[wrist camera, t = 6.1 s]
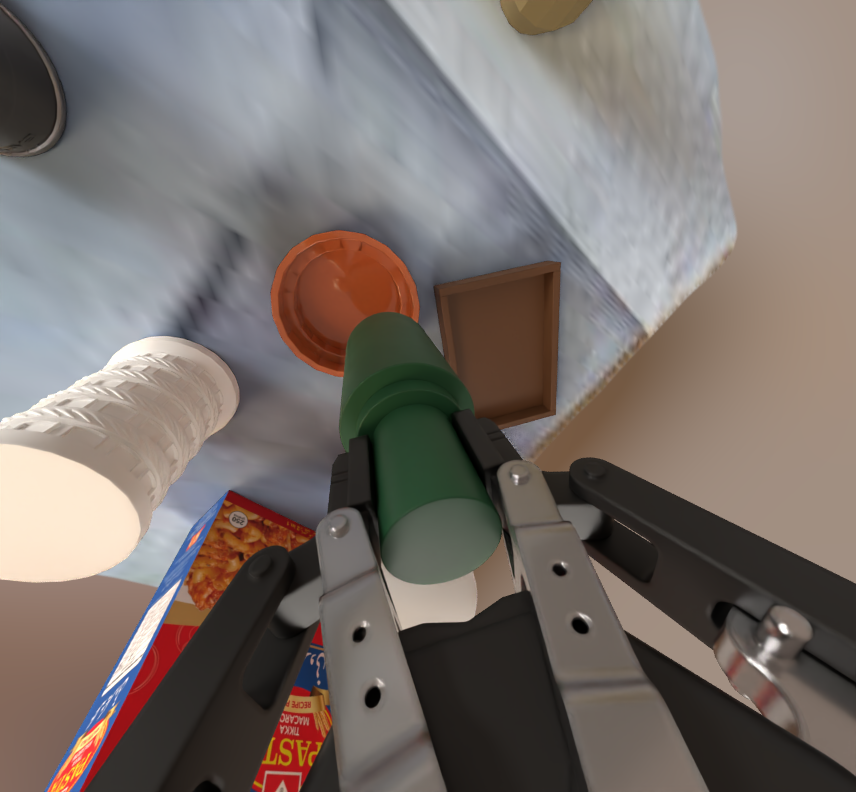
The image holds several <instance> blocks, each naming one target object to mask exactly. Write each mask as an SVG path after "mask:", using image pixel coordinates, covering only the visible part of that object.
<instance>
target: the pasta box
mask: <svg viewBox="0 0 856 792" xmlns="http://www.w3.org/2000/svg"><path fill="white" fill-rule="evenodd" d="M315 535H316V532H315V531H313V530H311V529H309V528H307V527H305V526H303V525H301V524H299V523H297V522H295V521H293V520H291V519H288V518H286V517H284V516H282V515H280V514H278V513H276V512H274V511H272V510H270V509H268V508H266V507H264V506H261V505H259V504H257V503H255V502H253V501H251V500H249V499H247V498H245V497H243V496H241V495H239V494H237V493H234V492H232V491H230V490H229V491H228V492H227V493H226V494H225V495H224V496H223V497H222V498H221V499H220V500H219V501H218V502H217V503H216V504H215V505H214V506H213V507H212V508H211V509H210V510H209V511H208V512H207V513H206V514H205V515H204V516H203V517H202V518H201V519H200V520H199V521H198V522H197V523H196V524H195V525H194V526H193V527H192V529H191V530H190V532H189V534H188V536H187V538H186V539H185V541H184V543H183V545H182V547H181V548H180V550H179V552H178V554H177V555H176V557H175V559H174V561H173V563H172V564H171V566H170V568H169V570H168V572H167V573H166V575H165V577H164V579H163V580H162V582H161V584H160V586H159V588H158V589H157V591H156V593H155V595H154V597H153V598H152V600H151V602H150V604H149V605H148V607H147V609H146V611H145V613H144V614H143V616H142V618H141V620H140V622H139V624H138V625H137V627H136V629H135V630H134V632H133V634H132V636H131V638H130V639H129V641H128V643H127V645H126V647H125V648H124V650H123V652H122V654H121V655H120V657H119V659H118V661H117V663H116V664H115V666H114V668H113V670H112V672H111V674H110V675H109V677H108V679H107V681H106V682H105V684H104V686H103V688H102V689H101V691H100V693H99V695H98V697H97V698H96V700H95V702H94V704H93V705H92V707H91V709H90V711H89V713H88V714H87V716H86V718H85V720H84V722H83V723H82V725H81V727H80V729H79V730H78V732H77V734H76V736H75V738H74V740H73V741H72V743H71V745H70V747H69V748H68V750H67V752H66V754H65V755H64V757H63V759H62V761H61V763H60V764H59V766H58V768H57V770H56V772H55V773H54V775H53V777H52V779H51V781H50V782H49V784H48V786H47V788H46V789H45V791H44V792H84V791H85V789H86V788H87V786H88V785H89V784H90V782H91V781H92V779H93V778H94V776H95V775H96V774H97V772H98V771H99V769H100V768H101V766H102V765H103V764H104V762H105V761H106V759H107V758H108V756H109V755H110V754H111V752H112V751H113V749H114V748H115V746H116V745H117V744H118V742H119V741H120V739H121V738H122V736H123V735H124V734H125V732H126V731H127V729H128V728H129V726H130V725H131V724H132V722H133V721H134V719H135V718H136V716H137V715H138V714H139V712H140V711H141V709H142V708H143V706H144V705H145V704H146V702H147V701H148V699H149V698H150V696H151V695H152V694H153V692H154V691H155V689H156V688H157V686H158V685H159V684H160V682H161V681H162V679H163V678H164V676H165V675H166V674H167V672H168V671H169V669H170V668H171V666H172V665H173V664H174V662H175V661H176V659H177V658H178V656H179V655H180V654H181V652H182V651H183V649H184V648H185V646H186V645H187V644H188V642H189V641H190V639H191V638H192V636H193V635H194V634H195V632H196V631H197V629H198V628H199V626H200V625H201V624H202V622H203V621H204V619H205V618H206V616H207V615H208V614H209V612H210V611H211V609H212V608H213V606H214V605H215V604H216V602H217V601H218V599H219V598H220V596H221V595H222V594H223V592H224V591H225V589H226V588H227V586H228V585H229V584H230V582H231V581H232V579H233V578H234V576H235V575H236V574H237V572H238V571H239V569H240V568H241V567H242V565H243V564H244V563H245V562H246V561H247V560H248V559H249V558H250V557H251V556H252V555H253V554H255V553H256V552H258V551H259V550H261V549H263V548H266V547H269V546H273V545H279V546H282V547H284V548H286V550H287V551H288V552H289V551H291V550H293V549H295V548H296V547H298V546H300V545H302V544H303V543H305V542H307V541H308V540H310V539H311V538H313V537H314V536H315ZM331 725H332V717H331V708H330V700H329V691H328V683H327V674H326V666H325V657H324V649H323V640H322V632H321V623H319V626H318V628H317V631H316V633H315V635H314V638H313V640H312V643H311V645H310V648H309V650H308V652H307V655H306V657H305V660H304V662H303V665H302V667H301V669H300V672H299V674H298V677H297V679H296V681H295V684H294V686H293V689H292V691H291V694H290V696H289V698H288V701H287V703H286V706H285V708H284V711H283V713H282V715H281V718H280V720H279V723H278V725H277V728H276V730H275V732H274V735H273V737H272V740H271V742H270V744H269V747H268V749H267V752H266V754H265V757H264V759H263V761H262V764H261V766H260V769H259V771H258V774H257V776H256V778H255V781H254V783H253V786H252V788H251V791H250V792H299V791H300V789H301V787H302V785H303V783H304V781H305V778H306V776H307V774H308V772H309V770H310V768H311V766H312V764H313V762H314V760H315V758H316V756H317V754H318V752H319V750H320V748H321V746H322V744H323V742H324V740H325V738H326V735H327V733H328V731H329V729H330V727H331Z"/></svg>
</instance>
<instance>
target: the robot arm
mask: <svg viewBox="0 0 856 792" xmlns="http://www.w3.org/2000/svg"><path fill="white" fill-rule="evenodd" d="M65 122H66V103H65V97H64V93H63V89H62V86H61V83H60V80H59V78H58V75H57V73H56V71H55V69H54V67H53V65H52V63H51V61H50V59H49V58H48V56H47V54H46V53H45V51H44V50H43V48H42V47H41V45H40V44H39V42H38V41H37V40H36V39H35V37H34V36H33V35H32V33H31V32H30V31H29V30H28V29H27V28H26V26H25V25H24V24H23V23H22V22H21V21H20V20H19V19H18V18H17V17H16V16H15V15H14V14H13V13H12V12H10V11H9V10H8V9H7V8H6V7H5V6H3V5H2V4H1V3H0V154H1V155H6V156H12V157H29V156H35V155H38V154H41V153H44V152H45V151H47V150H49V149H50V148H52V147H53V146H54V145H55V144H56V143H57V142H58V140H59V139H60V137H61V135H62V133H63V130H64V127H65ZM452 422H453V427H454V429H455V431H456V433H457V435H458V436H459V438H460V440H461V442H462V444H463V446H464V448H465V450H466V452H467V454H468V456H469V458H470V460H471V462H472V463H473V465H474V467H475V469H476V471H477V473H478V475H479V477H480V479H481V481H482V483H483V485H484V487H485V488H486V490H487V492H488V494H489V496H490V498H491V500H492V502H493V504H494V506H495V508H496V510H497V512H498V514H499V516H500V518H501V522H502V536H503V540H504V545H505V549H506V553H507V558H508V562H509V566H510V571H511V575H512V580H513V584H514V589H515V594H512V595H509V596H506V597H502V598H501V599H499V600H498V601H496V602H495V603H494V604H492V605H491V606H489V607H488V608H487V609H485V610H483V611H482V612H481V613H479V614H478V615H476V616H475V617H473V618H472V619H470V620H469V621H466V622H441V623H422V624H419V625H416V626H413V627H410V628H407V629H404V630H403V629H402V626H401V624H400V621H399V618H398V615H397V612H396V609H395V606H394V603H393V600H392V597H391V594H390V591H389V588H388V585H387V582H386V579H385V576H384V573H383V570H382V567H381V556H380V543H379V530H378V517H377V504H376V491H375V478H374V465H373V452H372V444H371V441H370V438H369V436H368V434H367V435H363V436H359V437H355V438H352V439H349V452H348V453H344V454H340V455H338V457H337V458H336V460H335V462H334V463H333V465H332V477H331V485H330V494H329V504H328V513H327V515H326V516H325V517H324V518H323V519H322V520H321V522H320V523H319V525H318V527H317V529H316V535H315V536H314V537H313V538H311V539H310V540H308V541H307V542H305V543H303V544H302V545H300V546H298V547H296V548H295V549H293V550H291V551H289V552H288V551H287V550H286V548H284V547H282V546H279V545H273V546H269V547H266V548H263V549H261V550H259V551H258V552H256V553H255V554H253V555H252V556H251V557H250V558H249V559H248V560H247V561H246V562H245V563H244V564H243V565H242V567H241V568H240V569H239V571H238V572H237V574H236V575H235V576H234V578H233V579H232V581H231V582H230V584H229V585H228V586H227V588H226V589H225V591H224V592H223V594H222V595H221V596H220V598H219V599H218V601H217V602H216V604H215V605H214V606H213V608H212V609H211V611H210V612H209V614H208V615H207V616H206V618H205V619H204V621H203V622H202V624H201V625H200V626H199V628H198V629H197V631H196V632H195V634H194V635H193V636H192V638H191V639H190V641H189V642H188V644H187V645H186V646H185V648H184V649H183V651H182V652H181V654H180V655H179V656H178V658H177V659H176V661H175V662H174V664H173V665H172V666H171V668H170V669H169V671H168V672H167V674H166V675H165V676H164V678H163V679H162V681H161V682H160V684H159V685H158V686H157V688H156V689H155V691H154V692H153V694H152V695H151V696H150V698H149V699H148V701H147V702H146V704H145V705H144V706H143V708H142V709H141V711H140V712H139V714H138V715H137V716H136V718H135V719H134V721H133V722H132V724H131V725H130V726H129V728H128V729H127V731H126V732H125V734H124V735H123V736H122V738H121V739H120V741H119V742H118V744H117V745H116V746H115V748H114V749H113V751H112V752H111V754H110V755H109V756H108V758H107V759H106V761H105V762H104V764H103V765H102V766H101V768H100V769H99V771H98V772H97V774H96V775H95V776H94V778H93V779H92V781H91V782H90V784H89V785H88V786H87V788H86V789H85V791H84V792H250V791H251V788H252V786H253V783H254V781H255V778H256V776H257V774H258V771H259V769H260V766H261V764H262V761H263V759H264V757H265V754H266V752H267V749H268V747H269V744H270V742H271V740H272V737H273V735H274V732H275V730H276V728H277V725H278V723H279V720H280V718H281V715H282V713H283V711H284V708H285V706H286V703H287V701H288V698H289V696H290V694H291V691H292V689H293V686H294V684H295V681H296V679H297V677H298V674H299V672H300V669H301V667H302V665H303V662H304V660H305V657H306V655H307V652H308V650H309V648H310V645H311V643H312V640H313V638H314V635H315V633H316V631H317V628H318V626H319V623H321V632H322V640H323V649H324V657H325V666H326V674H327V683H328V691H329V700H330V708H331V717H332V725H331V727H330V729H329V731H328V733H327V735H326V738H325V740H324V742H323V744H322V746H321V748H320V750H319V752H318V754H317V756H316V758H315V760H314V762H313V764H312V766H311V768H310V770H309V772H308V774H307V776H306V778H305V781H304V783H303V785H302V787H301V789H300V791H299V792H856V584H855V583H853V582H851V581H849V580H847V579H845V578H843V577H841V576H839V575H837V574H835V573H833V572H831V571H829V570H827V569H825V568H823V567H820V566H819V565H817V564H815V563H813V562H811V561H809V560H807V559H804V558H802V557H800V556H798V555H796V554H794V553H792V552H790V551H788V550H786V549H784V548H782V547H780V546H778V545H776V544H774V543H772V542H770V541H768V540H766V539H764V538H762V537H760V536H757V535H756V534H754V533H751V532H750V531H748V530H745V529H743V528H741V527H739V526H737V525H735V524H733V523H731V522H729V521H727V520H725V519H723V518H721V517H719V516H717V515H715V514H713V513H711V512H709V511H707V510H705V509H703V508H701V507H699V506H697V505H695V504H693V503H690V502H688V501H687V500H684V499H682V498H680V497H678V496H676V495H674V494H672V493H670V492H668V491H666V490H664V489H662V488H660V487H658V486H656V485H654V484H652V483H650V482H648V481H646V480H644V479H642V478H640V477H637V476H636V475H634V474H631V473H630V472H628V471H625V470H623V469H621V468H619V467H617V466H615V465H613V464H611V463H609V462H607V461H605V460H601V459H597V458H581V459H578V460H576V461H574V462H573V463H572V464H571V466H570V471H569V472H545V471H541V470H540V469H539V467H538V466H536V465H535V464H533V463H531V462H529V461H525V460H523V459H522V458H521V457H520V455H519V454H518V453H517V451H516V450H515V449H514V447H513V446H512V445H511V443H510V442H509V441H508V439H507V438H505V435H504V434H503V433H502V431H500V429H499V427H498V426H497V425H496V423H495V422H493V421H491V420H490V419H488V418H486V417H483V418H479V419H476V417H475V416H474V414H473V413H472V411H471V410H470V409H465V410H461V411H457V412H453V413H452ZM614 519H616V520H617V521H619V522H620V523H622V524H624V525H625V526H627V527H628V528H630V529H631V530H633V531H635V532H636V533H638V534H639V535H641V536H643V537H644V538H646V539H647V540H649V541H650V542H651V543H650V542H648V541H647V540H645V539H644V538H642V537H640V536H639V535H637V534H636V533H634V532H632V531H631V530H629V529H628V528H626V527H625V526H623V525H621V524H620V523H618V522H617V521H615V520H614ZM588 555H589V556H590V557H592V558H593V559H594V560H596V561H597V562H598V563H600V564H601V565H602V566H604V567H605V568H606V569H607V570H609V571H610V572H611V573H613V574H614V575H615V576H617V577H618V578H619V579H621V580H622V581H623V582H625V583H626V584H627V585H628V586H630V587H631V588H632V589H634V590H635V591H636V592H638V593H639V594H640V595H642V596H643V597H644V598H645V599H647V600H648V601H649V602H651V603H652V604H653V605H655V606H656V607H657V608H659V609H660V610H661V611H662V612H664V613H665V614H666V615H668V616H669V617H670V618H672V619H673V620H674V621H676V622H677V623H678V624H679V625H681V626H682V627H683V628H685V629H686V630H687V631H689V632H690V633H691V634H693V635H694V636H695V637H697V638H698V639H699V640H700V641H702V642H703V643H704V644H706V645H707V646H708V647H710V648H711V649H712V650H714V654H715V657H716V659H717V662H718V664H719V666H720V667H721V669H722V670H723V672H724V673H725V674H726V676H727V677H728V680H729V682H730V683H731V685H732V687H733V688H734V689H735V690H736V691H737V692H738V693H739V694H741V695H742V696H744V697H745V698H747V699H750V700H751V701H752V702H753V703H754V704H755V706H756V707H757V708H758V710H759V711H760V712H761V714H762V715H763V716H762V715H761V714H759V713H758V712H756V711H754V710H753V709H751V708H750V707H748V706H746V705H745V704H743V703H741V702H740V701H738V700H737V699H735V698H733V697H732V696H730V695H728V694H727V693H725V692H723V691H722V690H720V689H719V688H717V687H716V686H714V685H712V684H711V683H709V682H707V681H706V680H704V679H702V678H701V677H699V676H698V675H696V674H694V673H693V672H691V671H690V670H688V669H686V668H685V667H683V666H682V665H680V664H678V663H677V662H675V661H673V660H672V659H670V658H668V657H667V656H665V655H664V654H662V653H660V652H659V651H657V650H656V649H654V648H652V647H651V646H649V645H648V644H646V643H644V642H643V641H641V640H639V639H638V638H636V637H635V636H633V635H631V634H630V633H628V632H626V631H625V630H623V628H622V626H621V624H620V621H619V619H618V617H617V615H616V613H615V611H614V609H613V607H612V605H611V602H610V600H609V598H608V596H607V594H606V592H605V590H604V588H603V586H602V583H601V582H600V579H599V577H598V575H597V573H596V571H595V569H594V567H593V565H592V563H591V560H590V558H589V556H588Z"/></svg>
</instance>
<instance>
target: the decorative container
mask: <svg viewBox="0 0 856 792" xmlns="http://www.w3.org/2000/svg"><path fill="white" fill-rule="evenodd" d="M238 404H239V387H238V384H237V381H236V378H235V376H234V374H233V373H232V371H231V370H230V368H229V367H228V365H227V364H226V363H225V362H224V361H223V360H222V359H221V358H219V357H218V356H217V355H216V354H215V353H213V352H212V351H210V350H208V349H207V348H205V347H204V346H202V345H200V344H197V343H194V342H192V341H189V340H186V339H182V338H176V337H170V336H158V337H148V338H145V339H142V340H139V341H135V342H133V343H131V344H129V345H127V346H125V347H124V348H122V349H121V350H119V351H118V352H117V353H115V354H114V355H113V356H112V358H111V359H110V361H109V362H108V364H107V366H105V367H104V369H103V370H100V371H99V372H98V373H94V374H92V375H90V376H87V377H83V378H82V380H78V381H76V382H75V384H74V385H72V386H70V387H69V389H67V390H62V391H59V392H58V393H56V394H51V395H49V396H48V397H47V398H45V399H41V400H40V402H39V403H38V404H35V405H33V406H32V408H31V409H30V410H28V411H25V412H22V413H17V414H15V415H14V416H12V417H10V418H4V419H3V420H2V422H0V579H3V580H15V581H25V582H60V581H68V580H74V579H79V578H85V577H89V576H92V575H95V574H97V573H100V572H103V571H106V570H109V569H111V568H112V567H114V566H115V565H117V564H118V563H120V562H121V561H123V560H124V559H126V558H127V557H128V556H129V554H130V553H131V552H132V551H133V550H134V548H135V547H136V546H137V545H138V543H139V542H140V540H141V539H142V538H143V536H144V535H145V533H146V532H147V530H148V529H149V525H150V522H151V518H152V512H153V511H154V510H155V509H156V508H157V507H158V506H159V505H160V504H161V502H162V501H163V499H164V497H165V496H166V493H167V491H168V487H169V486H170V485H172V484H173V483H174V482H175V481H177V479H178V478H179V477H180V476H181V475H182V473H183V472H184V470H185V469H186V466H187V463H188V461H190V460H191V459H192V458H193V457H194V456H195V455H196V454H197V453H198V452H199V450H200V448H201V447H202V445H203V442H204V441H205V440H206V439H207V438H208V437H209V436H210V435H212V434H214V433H216V432H217V431H219V430H220V429H222V428H223V427H225V425H226V424H227V423H228V422H229V420H230V419H231V418H232V417H233V415H234V414H235V412H236V409H237V407H238Z"/></svg>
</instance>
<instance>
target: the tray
mask: <svg viewBox="0 0 856 792" xmlns="http://www.w3.org/2000/svg"><path fill="white" fill-rule="evenodd" d="M560 267H561V263H560V262H553V261H544V262H540V263H535V264H531V265H526V266H521V267H517V268H512V269H508V270H503V271H499V272H494V273H489V274H485V275H480V276H476V277H471V278H466V279H462V280H457V281H453V282H448V283H444V284H439V285H434V286H433V287H434V293H435V299H436V306H437V312H438V319H439V325H440V331H441V338H442V344H443V351H444V357H445V360H446V361H447V362H448V364H449V365H450V367H451V368H452V369H453V371H454V372H455V373H456V375H457V376H458V377H459V379H460V380H461V381H462V383H463V384H464V385H465V387H466V388H467V390H468V392H469V393H470V395H471V398H472V401H473V405H474V410H475V417H476V419H479V418H483V417H486V418H488V419H490V420H491V421H493V422H495V423H496V425H497V426H498V427H499V429H500V430H501V429H505V428H509V427H512V426H516V425H520V424H523V423H527V422H531V421H534V420H538V419H542V418H545V417H549V416H553V415H556V391H557V361H558V330H559V299H560Z"/></svg>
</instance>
